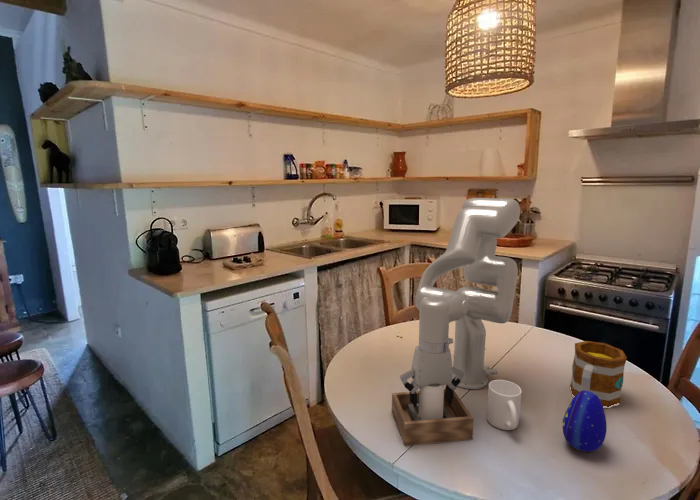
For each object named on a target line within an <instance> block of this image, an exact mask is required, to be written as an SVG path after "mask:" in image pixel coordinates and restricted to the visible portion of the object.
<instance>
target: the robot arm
mask: <svg viewBox="0 0 700 500" xmlns="http://www.w3.org/2000/svg"><path fill="white" fill-rule="evenodd" d="M520 215H521V207H520V203H519V202H518V201H517V200H515V199H512V198H498V197H497V198H495V197H494V198H491V197H473V198H468V199H466V200H465V201H463V203H462V207H461V210H459V211H458V213H457V214H456V217H455V220H454V223H453V226H452V230H451V233H450V236H449V241H448V242H447V245H446V249H445V251H444V253H442V255H440V256H438V257H437V258H436V259H434V261H432V262H431V263H430V264H429V265H428V266H427V267H426V268H425V270H424V271H423V273H422V275H421V276H420V280H419V283H418V287H417V289H416V292H415V293H416V294H415V297H414V298H415V301H414V304H415V306H416V308H417V310H418V311H419V314H418V315H419V316H418V317H419V318H418V319H419V320H418V321H419V322H418V324H419V325H418V345H416V346H415V348H414V351H413V356H412V361H411V362H412V364H411V369H410V370H408V371H406V372H405V373H404V372H403V374H400V376H399V379H400V380H401V382H402V384H403V386H404V388H405V389H406V390H408V392H410V394H409V399H410V402H411V403H412V404H413V406H414V407H417V393H416V391H419V387H427V386H439V385H443V386H445V387H444V389H445V398H446V400H447V402H448V403H449V404H452V399H453V394H454V391H456V388H457V387H459V388H463V389H467V390H468V389H469V390H479V389H482V388H485V387H486V386H487V385H488V384H489V382H488V381H489V380H488V377H489V376H490V375H491V376H494V375H498V373H499V371H498V369H497V368H491V367H490V365H485V355H486V354H485V353H486V350H485V349H486V339H487V338H486V337H487V331H486V326H485V325H484V323H483V321H486V322H491V323H495V324H502V325H503V324H506V323H508V321H509V320H510V319H511V316H512V312H513V305H514V301H515V295H516V294H515V293H516V289H517V282H518V275H519V271H518V264H517V262H516V261H515V260H514V259H513V258H511V257H508V256H507V257H506V256H498V255H497V256H496V251H497V245H498V240H497V239H502V238H504V237H506V236H507V235H508V234H509V232H511V230H512V229H514V227H515V226H516V225H517V223H518V221H519V219H520V217H521V216H520ZM461 268H464V269H463V271H464V272H463V275H464V278H465V280H466V281H468V282H470V283H473V284H478V285H483V286H489V287H490V286H491V287H495V288H497V291H496V290H489V289H486V288H480V287H475V286H463V287H460V288H457V290H456V291H455V290H451V289H450V290H449V289H445V288H439V287H435V286H434V285H435V283H436V281H437V280H438V279H439V278H440V277H441V276H443V275H444V274H446V273H448V272H450V271H451V272H452V271H454V270H458V269H461ZM482 320H483V321H482ZM453 322H455V326H454V327H455V328H454V339H453V337H452V338H451V337H449V333H450V331H449V330H450V329H449V328H450V323H453ZM451 344H453V347H454V349H453V359H452V353H451V349H450V345H451ZM409 379H412V381H410V382H409V381H408V380H409Z"/></svg>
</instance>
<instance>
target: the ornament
mask: <svg viewBox="0 0 700 500" xmlns="http://www.w3.org/2000/svg"><path fill="white" fill-rule="evenodd" d="M604 409H605V408H603V405H602V403H601V401H600V399H599V398H598V396H597V395H596V394H594V393H592V392H590V391H580V392H579V393H578V394H577V395H576V396H575V397H572V399H571V402H570V404H569V405H568V407H567V409H566V410H565V412H564V416H563V418H562V433H563V436H564V439H565V441H566V443H567V444H568V445H570V446H571V447H573V448H574V449H576V450H579V451H582V452H586V453H589V452H595V451H596V450H598V449H600V448H601V447H602V445H603V444H604V442H605V440H606V435H607V428H608V427H607V418H606V413H605V410H604Z"/></svg>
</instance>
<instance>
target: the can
mask: <svg viewBox="0 0 700 500" xmlns="http://www.w3.org/2000/svg"><path fill="white" fill-rule="evenodd" d="M444 389H445V385H439V386H427V387H419V389H418V391H419V420H432V419H443V404H444Z"/></svg>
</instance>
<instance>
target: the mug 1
mask: <svg viewBox="0 0 700 500" xmlns="http://www.w3.org/2000/svg"><path fill="white" fill-rule="evenodd" d="M487 392H488V393H487V403H486V404H487V406H486V419H487V422H488V423H489V424H490V425H491V426H493V427H494V428H496V429H498V430H502V431H512V430H514V429H516V428H517V427H518V426H519V422H520V412H521V401H522V389H521V387H520V385H518V384H516V383H515V382H512V381H510V380H506V379H494V380H491V381H490V382H488V391H487Z"/></svg>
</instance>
